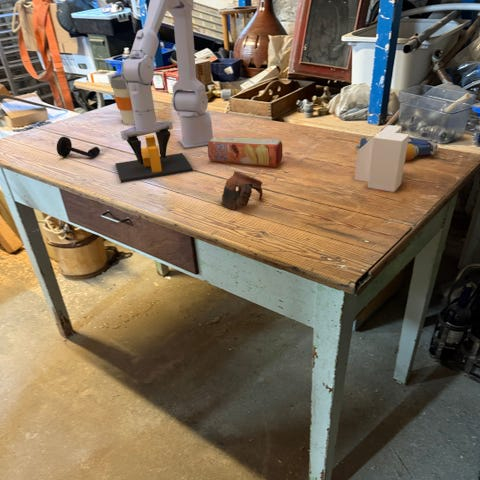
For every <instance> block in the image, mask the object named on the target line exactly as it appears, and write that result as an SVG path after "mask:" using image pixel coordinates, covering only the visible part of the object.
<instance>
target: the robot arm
mask: <svg viewBox="0 0 480 480" xmlns="http://www.w3.org/2000/svg"><path fill="white" fill-rule="evenodd" d="M194 6H195V5H194V0H149V4H148V8H147V13H146V16H145V21H144V24H143V28H142V29H139V30H137V32H136V35H135V38H134V41H133V44H132V48H131V50H130V54H129V56H128V58H126V59H125V60H124V61H123V62H122V63H121V69H120V70H121V72H120V74H121V76H122V79H123V80H124V82H125V83H126V87H127V89H128V91H129V92H130V98H131V103H132V109H133V114H134V120H135V124H134V125H135V126H133V127H130V128H128V129H124V130H121V131H119V132H120V137H121V140H123V141H126V142H127V144H128V145H129V147H130V148H131V150H132V151H133V153H134V155H135V158H136V160H138V163H140V164H143V157H142V151H141V148H142V141H141V140H140V139H139V137H141V136H142V137H143V136H147V135H151V134H154V133H155V137H156V140H157V143H158V149H159V155H160V156H161V157H162V158H166V155H167V148H168V143H169V141H170V137H171V130H174V128H173V122H172V121H171V120H164V121H157V116H156V109H155V103H154V96H153V90H152V84H151V83H152V81H153V79H154V76H155V70H154V68H155V61H154V59H155V57H156V54H157V51H158V47H159V44H160V41H159V38H158V32H159V31H160V28H161V25H162V23H163V20H164V18H165V15H166V13H167V12H169V14H170V15H171V16H172V20H173V30H174V42H175V54H176V66H177V77H178V78H177V79H178V80H177V81H176V82H174V84H173V85H172V96H171V105H172V108H173V110H174V111H175V112H176V114H177V116H179V123H180V129H181V130H180V131H181V137H182V138H181V139H179V142H180V143H181V145H182V146H183V148H184V149H190V148H195V147H203V146H208V143H209V141H210V140H211V139H212V138H213V137H214V134H213V122H212V117H211V114H210V112H209V111H207V109H208V106H209V99H208V95H207V92H206V91H207V90H206V86H205V84H204V83H203V82H201V81H200V80H199V79H198V78H197V71H196V69H197V68H196V57H195V55H196V53H195V40H194V25H193V11H194V8H195V7H194Z"/></svg>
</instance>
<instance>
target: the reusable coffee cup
mask: <svg viewBox="0 0 480 480" xmlns="http://www.w3.org/2000/svg"><path fill="white" fill-rule="evenodd" d="M109 79H110V87H111V89H112V91H113V97H114V100H115V104H116V108H117V109H118V110H119V113H120V116H121V119H122V123H123V124H124V125H130V126H131V125H132V126H133V125H135V120H134V114H133V109H132V103H131V98H130V92H129V91H128V89H127V87H126V83H125V82H124V80H123V79H122V76H121V73H120V74H119V73H118V74H115V75H113V76H110V78H109Z"/></svg>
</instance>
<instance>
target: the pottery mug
mask: <svg viewBox="0 0 480 480" xmlns="http://www.w3.org/2000/svg"><path fill="white" fill-rule="evenodd" d="M224 184H225V185H224V187H223V193H222V195H221V205H222V206H224V207H226V208H228V209H231V210H233V211H234V210H236V205H237V206H238V207H239V208H244V207H247V206H248V204H249V200H250V198H251V195H252V194H253V190H255V191H256V192H257V193H258V194H259V195H258V200H259V201H262V199H263V188H262V185H263V181H262V180H260V179H257V178H255V177H252V176H249V175H247V174H245V173H242V172H240V171H236V170H234V171H233V175H232V176H229V178H228V179H226V182H225V183H224Z"/></svg>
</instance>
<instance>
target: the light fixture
mask: <svg viewBox="0 0 480 480" xmlns="http://www.w3.org/2000/svg"><path fill="white" fill-rule="evenodd" d="M71 152H73V153H76V154H79V155H82V156H85V157H89V158H92V159H93V158H94V157H96V156H98V155H99V154H101V149H100V147H98V146H94V147H92V148H90V149H88V150H87V151H85V150H82V149H79V148H75V147H73V144H72V140H71V139H70V137H67V136H61V137H59V138H58V140H57V142H56V153H57V154H58V156H60V157H63V158H67V157H69V156H70V154H71Z"/></svg>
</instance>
